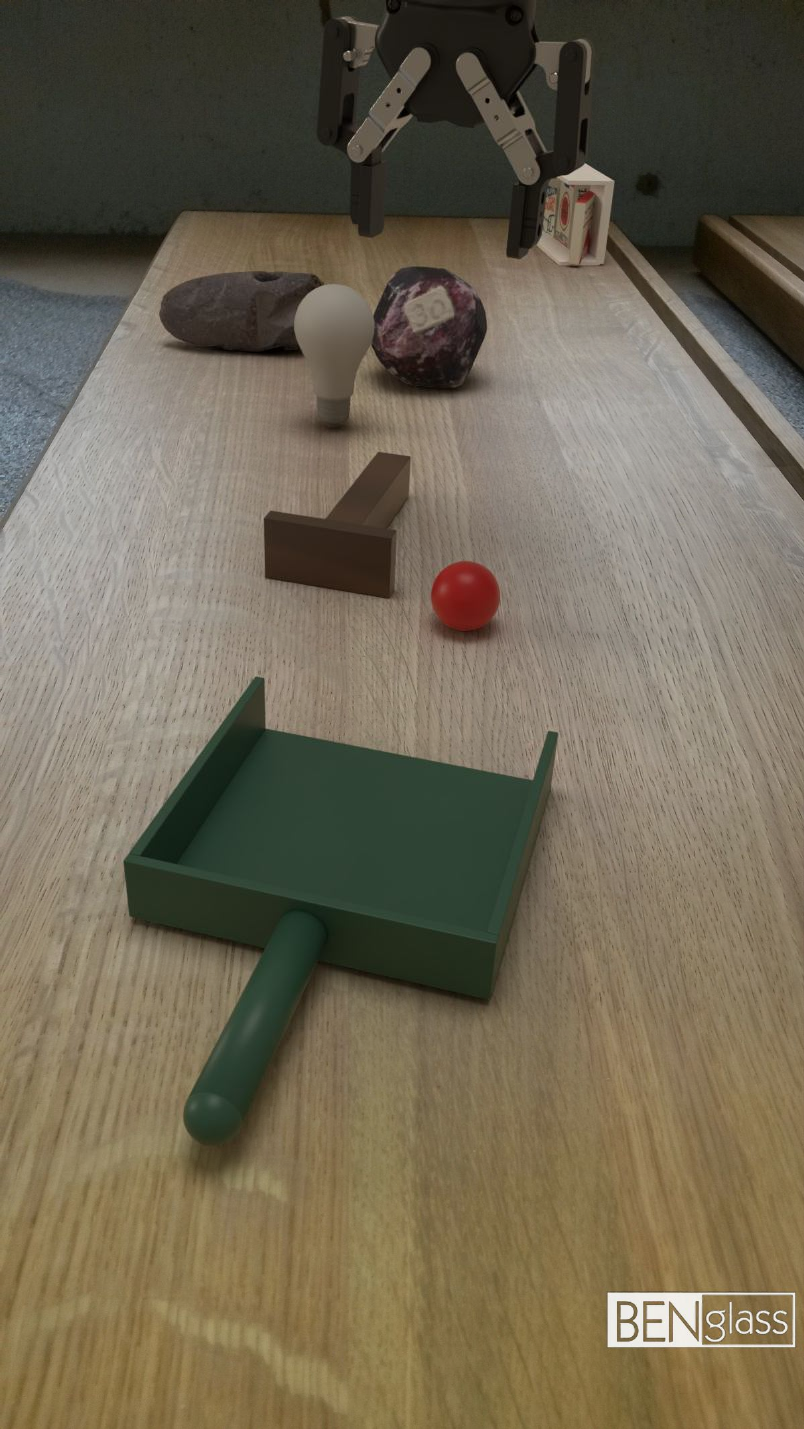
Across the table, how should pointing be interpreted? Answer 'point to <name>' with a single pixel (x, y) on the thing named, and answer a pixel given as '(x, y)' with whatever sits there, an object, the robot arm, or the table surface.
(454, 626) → the red billiard ball
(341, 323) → the lightbulb
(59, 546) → the table surface
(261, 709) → the dustpan
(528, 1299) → the table surface
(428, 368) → the mineral specimen
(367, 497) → the wooden t-shaped pusher
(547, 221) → the cigarette display
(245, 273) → the perforated stone tool
